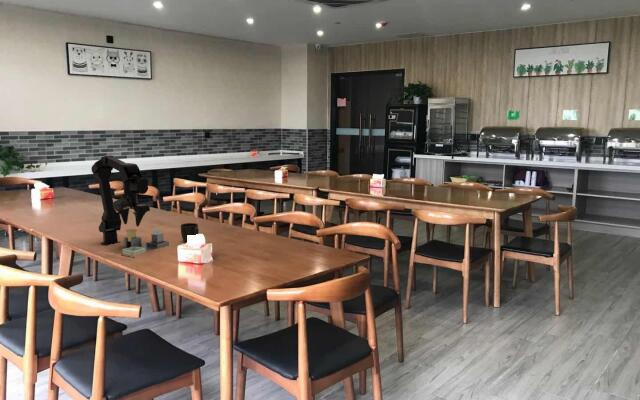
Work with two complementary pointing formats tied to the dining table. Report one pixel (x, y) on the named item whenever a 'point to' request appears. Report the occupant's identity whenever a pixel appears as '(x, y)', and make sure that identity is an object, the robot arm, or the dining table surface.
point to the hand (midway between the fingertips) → (131, 225)
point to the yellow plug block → (131, 234)
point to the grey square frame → (133, 251)
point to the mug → (188, 230)
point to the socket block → (147, 245)
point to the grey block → (157, 236)
